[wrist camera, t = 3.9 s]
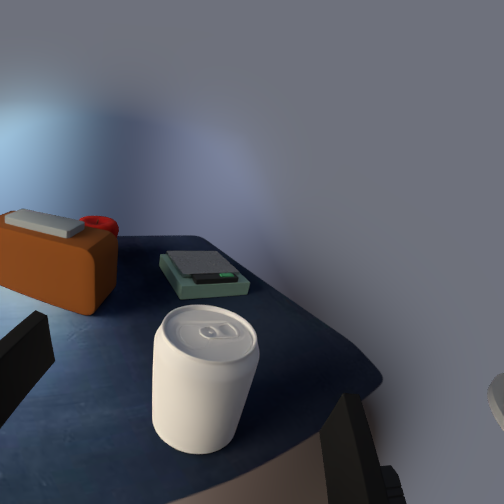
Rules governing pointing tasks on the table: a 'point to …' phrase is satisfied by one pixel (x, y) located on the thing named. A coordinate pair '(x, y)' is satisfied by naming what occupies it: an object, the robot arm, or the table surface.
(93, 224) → the apple
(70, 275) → the alarm clock
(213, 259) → the weighing plate
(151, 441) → the table surface
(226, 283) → the scale
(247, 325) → the beverage can
